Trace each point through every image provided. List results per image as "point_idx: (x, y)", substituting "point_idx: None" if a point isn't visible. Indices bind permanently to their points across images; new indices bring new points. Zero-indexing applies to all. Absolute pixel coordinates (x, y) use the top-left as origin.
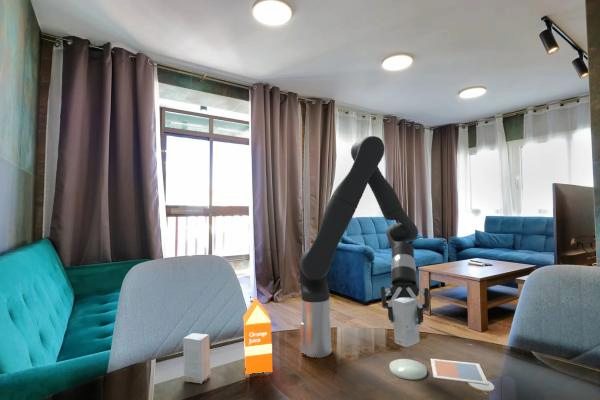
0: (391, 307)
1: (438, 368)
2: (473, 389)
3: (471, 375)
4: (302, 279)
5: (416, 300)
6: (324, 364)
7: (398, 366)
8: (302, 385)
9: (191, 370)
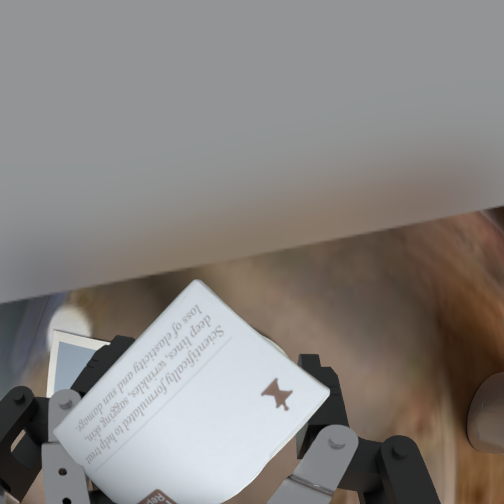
0: (321, 423)
1: None
2: (89, 306)
3: (73, 368)
4: None
5: (59, 426)
6: (469, 351)
7: None
8: (472, 244)
9: None
